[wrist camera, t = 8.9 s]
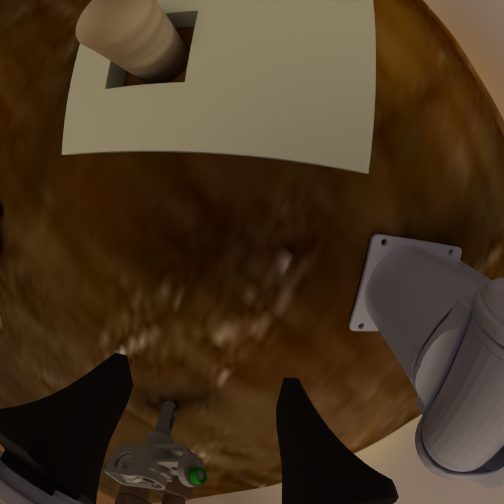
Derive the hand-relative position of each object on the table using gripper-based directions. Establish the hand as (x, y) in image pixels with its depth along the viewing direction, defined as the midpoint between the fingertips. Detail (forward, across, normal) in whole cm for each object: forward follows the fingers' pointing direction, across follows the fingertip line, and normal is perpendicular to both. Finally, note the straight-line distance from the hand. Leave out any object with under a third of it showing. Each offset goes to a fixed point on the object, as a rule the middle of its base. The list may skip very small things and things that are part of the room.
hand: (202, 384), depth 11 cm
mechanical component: (+10, +5, +14) cm, 18 cm away
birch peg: (+9, +6, -17) cm, 20 cm away
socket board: (+9, +2, -17) cm, 19 cm away
